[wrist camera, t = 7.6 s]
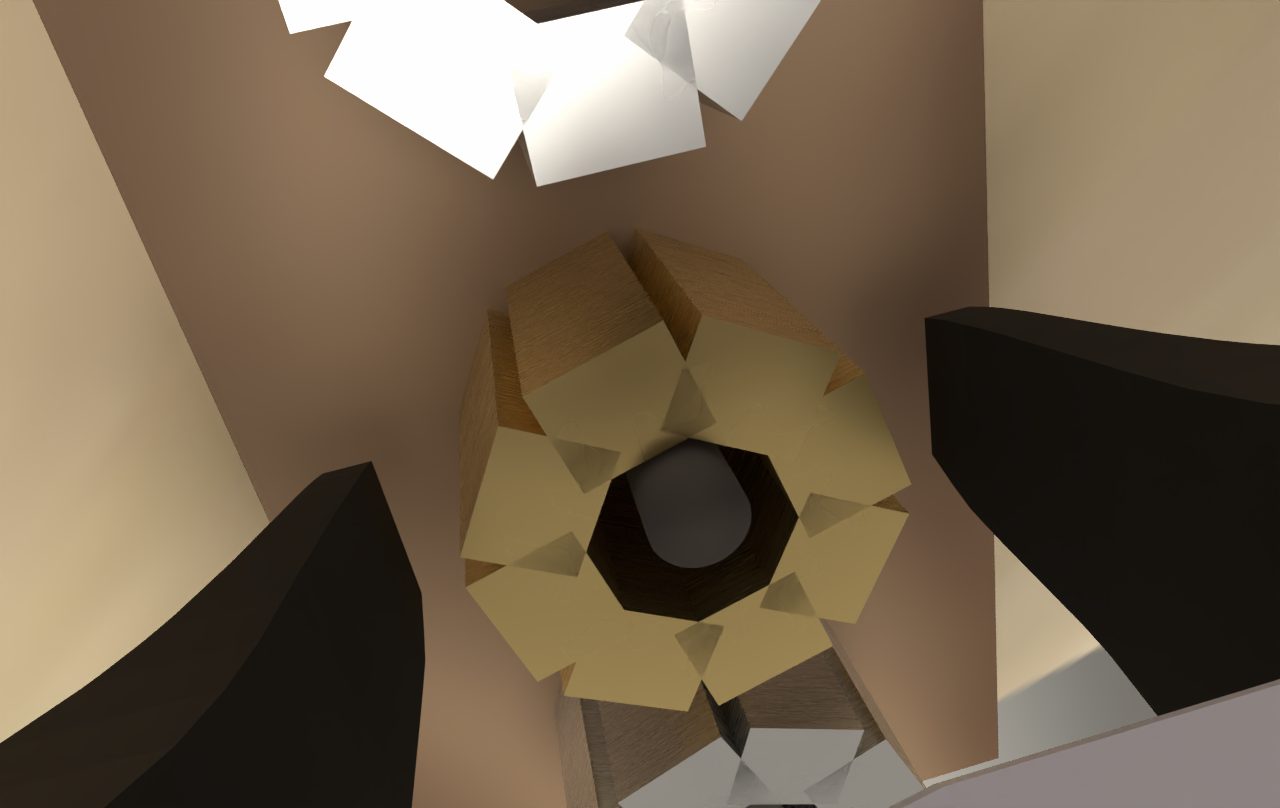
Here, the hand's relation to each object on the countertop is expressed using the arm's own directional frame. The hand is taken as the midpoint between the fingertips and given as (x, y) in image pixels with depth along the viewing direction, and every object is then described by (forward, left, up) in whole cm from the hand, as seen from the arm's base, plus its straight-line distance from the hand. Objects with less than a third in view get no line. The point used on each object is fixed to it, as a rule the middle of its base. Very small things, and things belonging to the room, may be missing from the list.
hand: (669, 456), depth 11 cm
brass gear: (0, 0, -3) cm, 3 cm away
